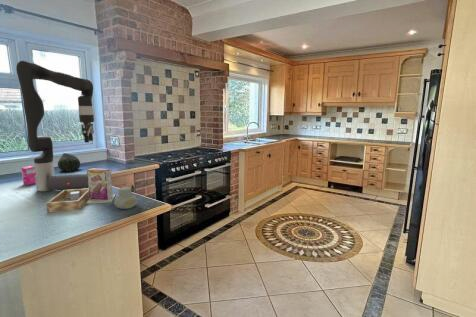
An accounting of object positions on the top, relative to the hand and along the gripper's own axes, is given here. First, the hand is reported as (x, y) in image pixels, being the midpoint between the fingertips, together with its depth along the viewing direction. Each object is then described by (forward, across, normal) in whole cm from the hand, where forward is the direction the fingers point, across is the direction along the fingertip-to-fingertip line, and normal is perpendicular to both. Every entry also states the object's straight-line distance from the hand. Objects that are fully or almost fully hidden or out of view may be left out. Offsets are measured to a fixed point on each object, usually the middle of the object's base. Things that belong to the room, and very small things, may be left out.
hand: (89, 141), depth 157 cm
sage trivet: (+30, -20, -9) cm, 37 cm away
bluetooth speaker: (+30, +2, +13) cm, 33 cm away
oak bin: (+30, -23, +5) cm, 38 cm away
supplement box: (+30, +24, +44) cm, 59 cm away
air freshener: (+30, -36, -24) cm, 52 cm away
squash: (+30, +62, +33) cm, 77 cm away
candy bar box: (+30, -20, -9) cm, 37 cm away
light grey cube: (+30, -16, +5) cm, 35 cm away
